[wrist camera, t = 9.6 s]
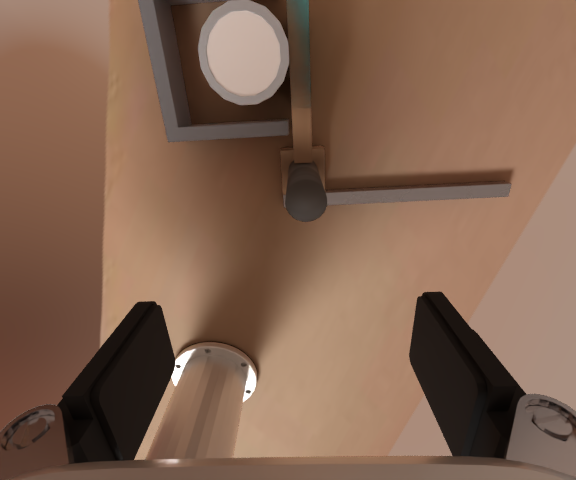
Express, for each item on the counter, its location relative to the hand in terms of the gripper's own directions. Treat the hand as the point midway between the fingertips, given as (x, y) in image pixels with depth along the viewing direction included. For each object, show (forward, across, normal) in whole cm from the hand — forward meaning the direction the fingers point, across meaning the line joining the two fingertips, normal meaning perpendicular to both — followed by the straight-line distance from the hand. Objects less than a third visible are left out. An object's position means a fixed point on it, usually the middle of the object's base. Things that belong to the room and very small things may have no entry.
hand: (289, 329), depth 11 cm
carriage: (+24, -1, -7) cm, 25 cm away
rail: (+24, -11, +2) cm, 27 cm away
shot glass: (+24, +3, -11) cm, 27 cm away
